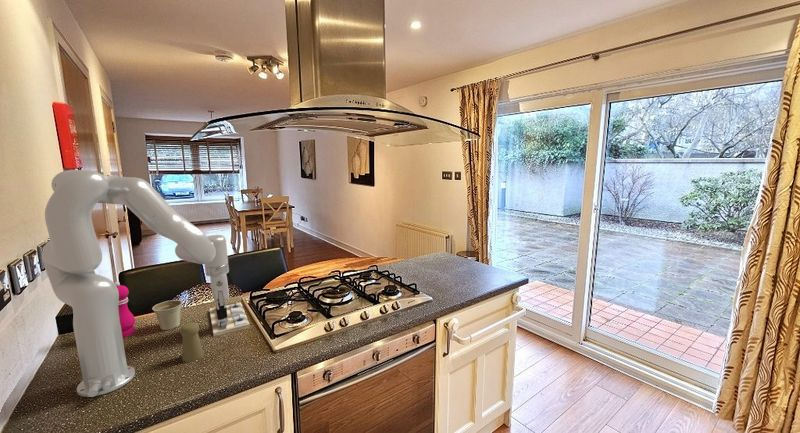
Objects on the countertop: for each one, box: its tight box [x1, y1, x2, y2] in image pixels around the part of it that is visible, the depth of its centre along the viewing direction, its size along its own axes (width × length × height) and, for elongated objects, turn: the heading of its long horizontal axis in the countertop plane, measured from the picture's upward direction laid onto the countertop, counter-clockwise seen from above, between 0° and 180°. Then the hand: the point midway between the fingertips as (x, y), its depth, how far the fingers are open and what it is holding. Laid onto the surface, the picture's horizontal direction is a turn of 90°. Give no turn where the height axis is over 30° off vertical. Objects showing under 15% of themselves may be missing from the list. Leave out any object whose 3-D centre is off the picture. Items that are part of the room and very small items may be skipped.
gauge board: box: [209, 301, 251, 337], centre depth 135 cm, size 24×12×4 cm, turn 32°
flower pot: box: [151, 299, 183, 331], centre depth 129 cm, size 9×9×9 cm
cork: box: [179, 322, 205, 363], centre depth 109 cm, size 6×6×11 cm
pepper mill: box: [113, 281, 136, 339], centre depth 122 cm, size 7×7×20 cm
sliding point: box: [216, 306, 241, 326], centre depth 128 cm, size 3×8×7 cm, turn 122°
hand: (222, 315), depth 127 cm, fingers closed on sliding point, 3 cm apart
